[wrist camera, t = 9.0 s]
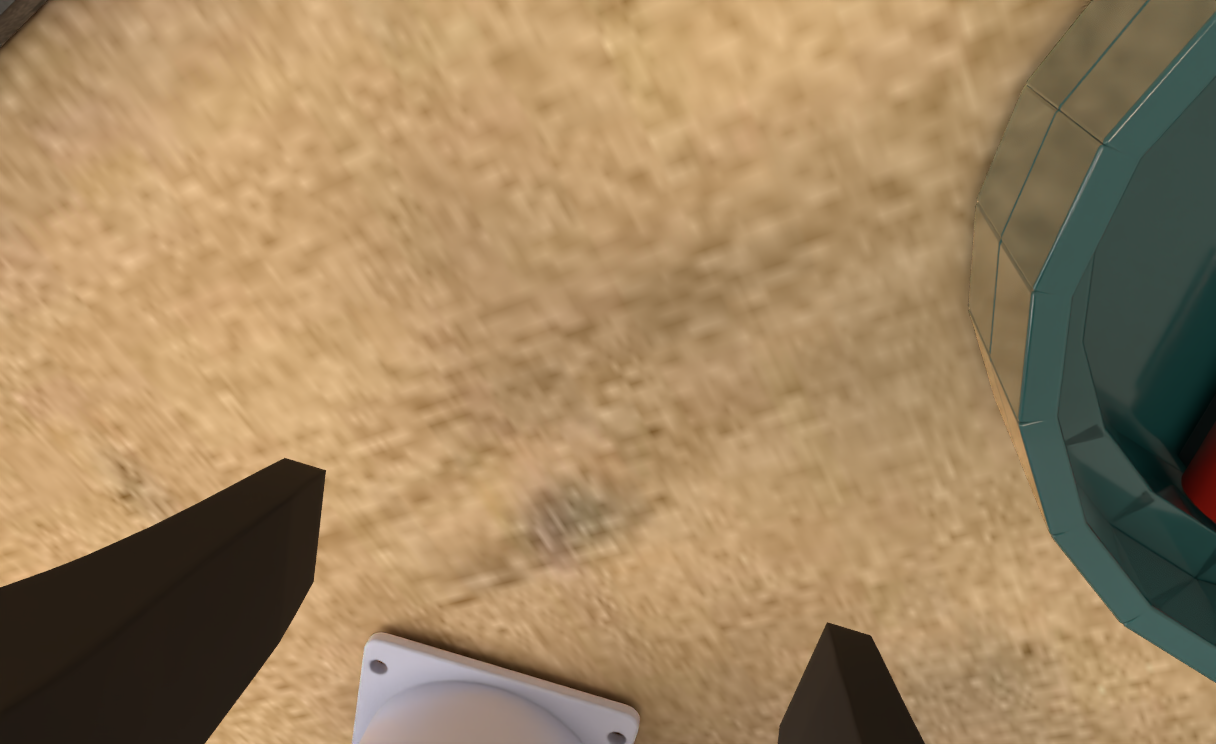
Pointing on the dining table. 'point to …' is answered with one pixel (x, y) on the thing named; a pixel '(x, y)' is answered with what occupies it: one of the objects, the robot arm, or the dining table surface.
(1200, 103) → the bowl
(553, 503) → the dining table surface
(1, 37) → the phone
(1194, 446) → the screwdriver
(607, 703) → the robot arm
